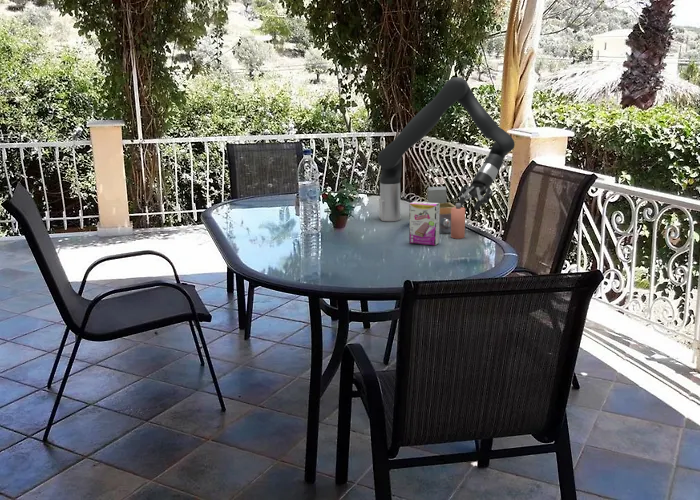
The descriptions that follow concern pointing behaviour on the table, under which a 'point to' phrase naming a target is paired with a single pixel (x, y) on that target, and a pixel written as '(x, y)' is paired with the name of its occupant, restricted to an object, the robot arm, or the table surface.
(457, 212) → the oil can
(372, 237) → the table surface
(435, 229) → the candy bar box
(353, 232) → the table surface
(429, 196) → the skincare box
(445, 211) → the grey tan open box
